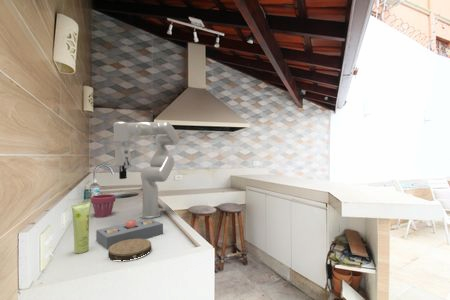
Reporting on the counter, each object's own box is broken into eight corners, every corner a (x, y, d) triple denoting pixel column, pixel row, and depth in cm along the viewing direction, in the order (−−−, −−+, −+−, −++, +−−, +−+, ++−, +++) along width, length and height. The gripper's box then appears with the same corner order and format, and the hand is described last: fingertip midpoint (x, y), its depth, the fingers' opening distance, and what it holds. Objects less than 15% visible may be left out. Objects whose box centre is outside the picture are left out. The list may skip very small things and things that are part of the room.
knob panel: (149, 227, 125) (149, 218, 125) (163, 233, 115) (163, 223, 115) (96, 241, 106) (96, 230, 106) (107, 249, 96) (107, 237, 97)
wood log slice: (104, 252, 95) (104, 244, 95) (143, 242, 104) (143, 236, 104) (113, 266, 82) (113, 258, 82) (157, 254, 92) (157, 246, 92)
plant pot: (119, 214, 154) (119, 195, 155) (98, 219, 142) (98, 198, 143) (107, 211, 162) (107, 193, 162) (86, 216, 150) (86, 196, 150)
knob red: (133, 228, 114) (133, 219, 114) (137, 230, 111) (137, 221, 111) (124, 230, 111) (124, 221, 111) (128, 232, 108) (128, 223, 108)
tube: (85, 253, 93) (85, 204, 93) (71, 254, 92) (71, 205, 92) (90, 248, 98) (90, 201, 99) (77, 249, 97) (77, 202, 97)
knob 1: (115, 237, 108) (115, 227, 108) (119, 239, 105) (119, 230, 105) (105, 240, 105) (105, 230, 105) (108, 242, 101) (108, 232, 102)
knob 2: (149, 228, 120) (149, 220, 120) (153, 230, 117) (153, 222, 117) (141, 231, 117) (141, 222, 117) (145, 233, 114) (145, 223, 114)
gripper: (134, 144, 123) (136, 178, 124) (122, 145, 133) (124, 176, 134) (120, 144, 118) (121, 180, 118) (109, 145, 128) (110, 178, 128)
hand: (123, 178), depth 126 cm, fingers closed
